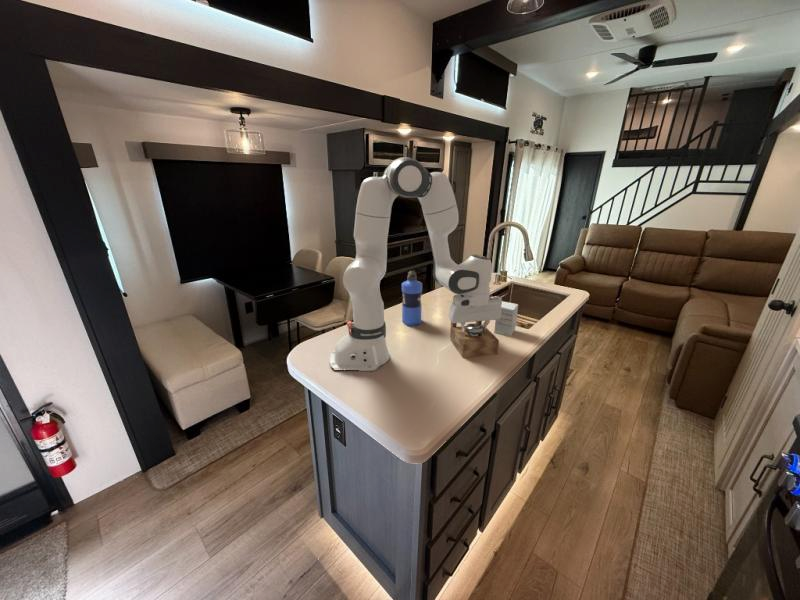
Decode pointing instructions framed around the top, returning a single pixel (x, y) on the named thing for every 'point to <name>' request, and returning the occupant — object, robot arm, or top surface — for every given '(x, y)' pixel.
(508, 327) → the supplement box
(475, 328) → the grey light bulb
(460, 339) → the block
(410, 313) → the water bottle
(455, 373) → the top surface
